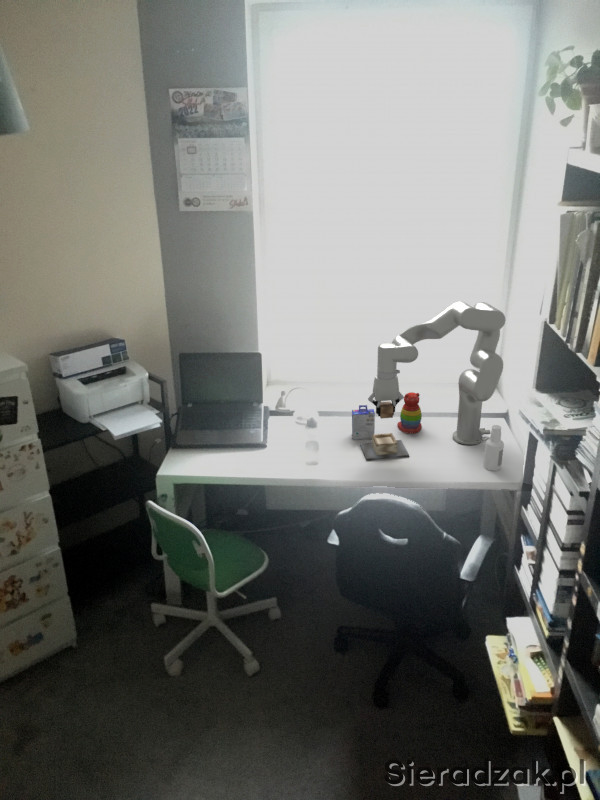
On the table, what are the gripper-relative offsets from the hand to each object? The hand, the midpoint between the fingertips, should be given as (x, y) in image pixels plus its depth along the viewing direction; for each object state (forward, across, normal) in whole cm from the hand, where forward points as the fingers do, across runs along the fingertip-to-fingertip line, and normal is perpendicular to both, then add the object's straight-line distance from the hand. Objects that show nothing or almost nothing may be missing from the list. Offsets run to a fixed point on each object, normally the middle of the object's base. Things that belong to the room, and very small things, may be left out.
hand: (385, 413), depth 263 cm
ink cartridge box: (+18, +6, -14) cm, 24 cm away
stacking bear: (+18, -16, -18) cm, 30 cm away
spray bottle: (+18, -40, +20) cm, 48 cm away
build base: (+18, 0, 0) cm, 18 cm away
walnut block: (+1, 0, 0) cm, 1 cm away
